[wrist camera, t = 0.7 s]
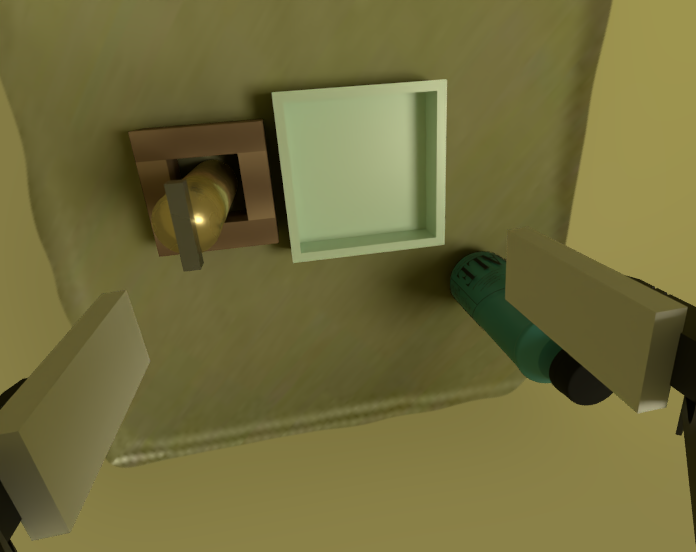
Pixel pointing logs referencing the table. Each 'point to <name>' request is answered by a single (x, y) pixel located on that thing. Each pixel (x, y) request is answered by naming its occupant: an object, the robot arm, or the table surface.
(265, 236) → the block
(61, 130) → the table surface
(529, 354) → the beverage bottle
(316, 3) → the table surface
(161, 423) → the table surface
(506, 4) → the table surface
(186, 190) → the amber rounded cylinder
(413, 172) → the tray
